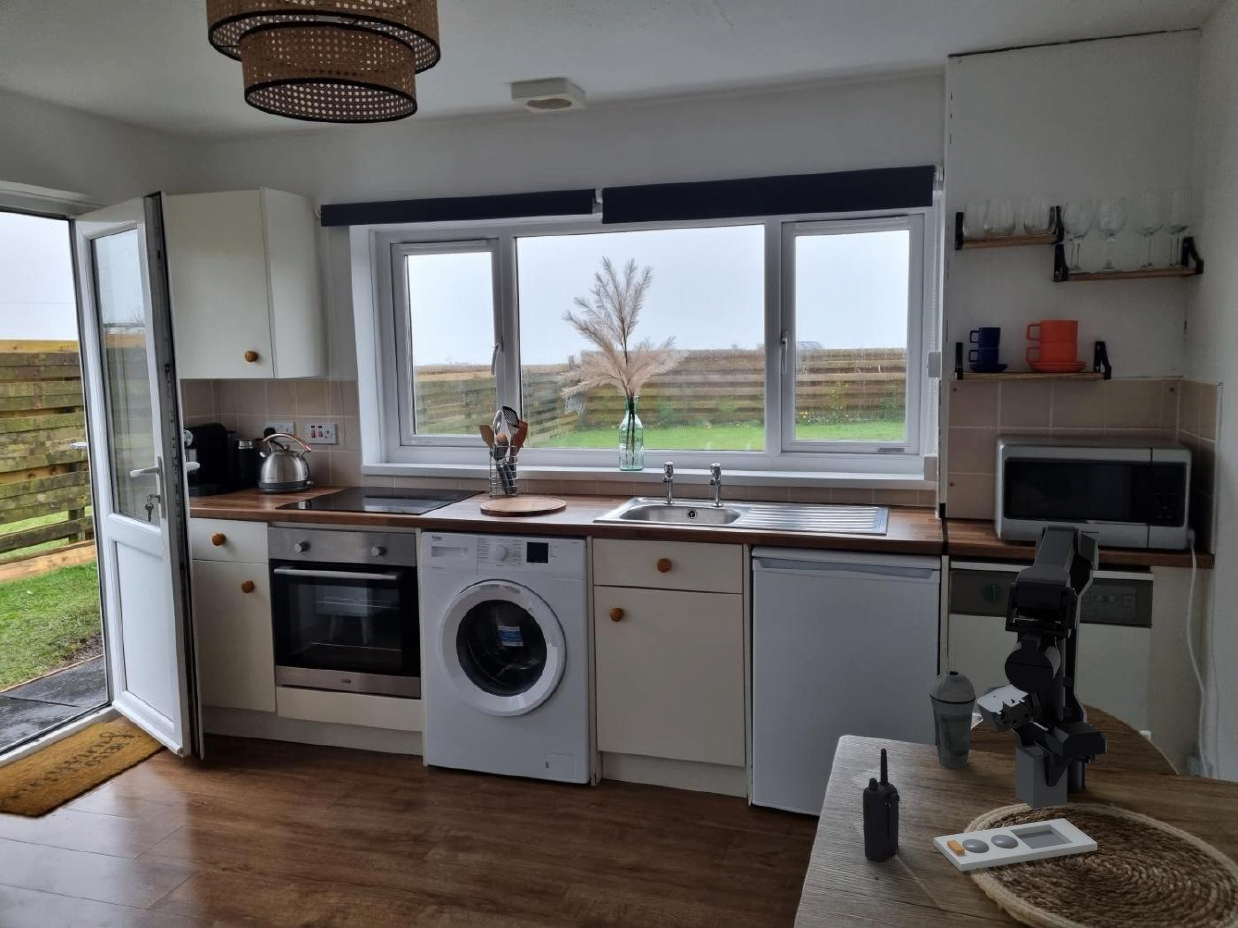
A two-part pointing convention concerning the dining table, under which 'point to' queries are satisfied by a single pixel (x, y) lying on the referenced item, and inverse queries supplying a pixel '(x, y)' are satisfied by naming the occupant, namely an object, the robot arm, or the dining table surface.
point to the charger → (1037, 780)
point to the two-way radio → (881, 815)
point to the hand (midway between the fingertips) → (1041, 779)
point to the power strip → (1014, 844)
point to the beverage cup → (952, 715)
